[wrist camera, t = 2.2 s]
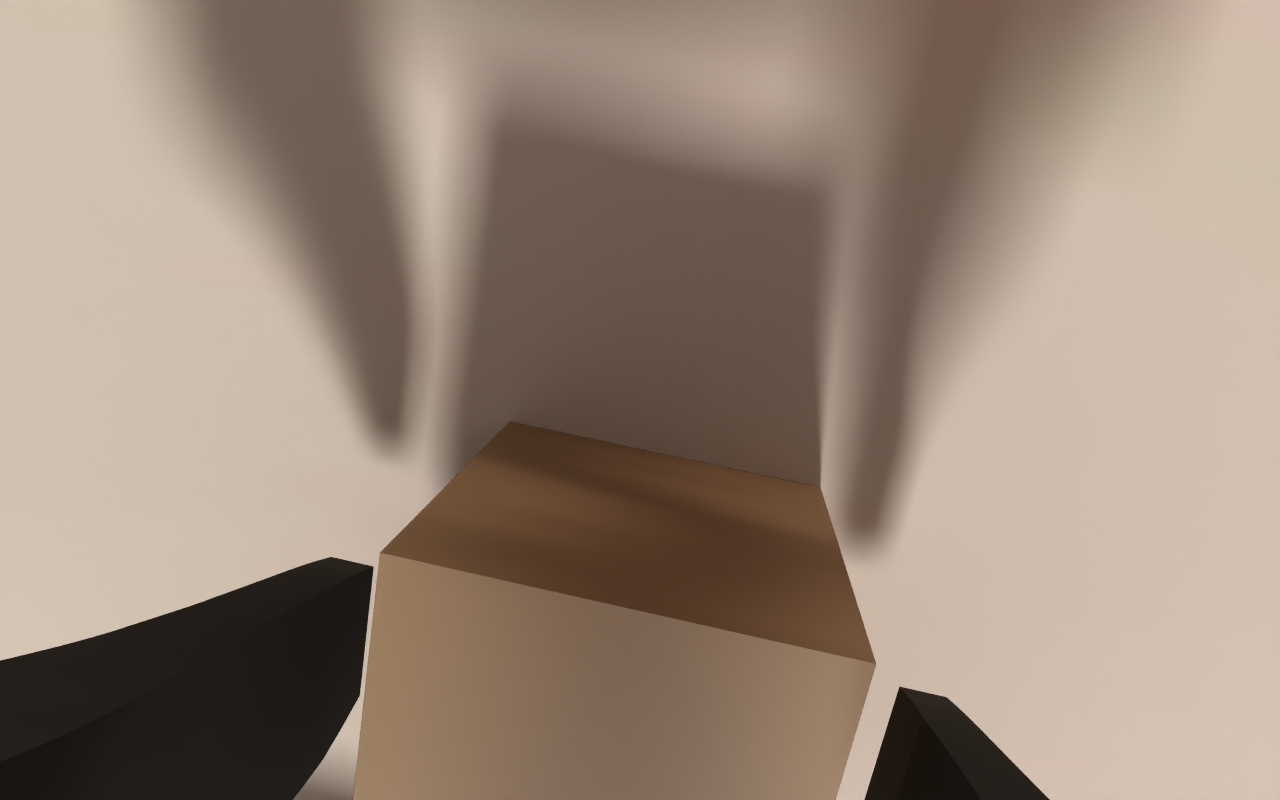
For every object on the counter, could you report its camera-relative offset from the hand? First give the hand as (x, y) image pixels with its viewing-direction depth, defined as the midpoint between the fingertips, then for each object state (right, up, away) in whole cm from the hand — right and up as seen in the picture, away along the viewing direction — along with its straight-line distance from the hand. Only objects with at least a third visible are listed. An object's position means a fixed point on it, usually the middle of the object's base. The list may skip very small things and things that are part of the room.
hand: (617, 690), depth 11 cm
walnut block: (0, +1, +3) cm, 3 cm away
